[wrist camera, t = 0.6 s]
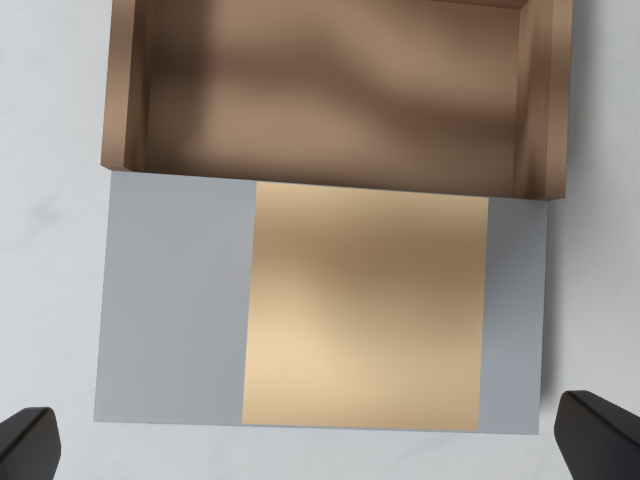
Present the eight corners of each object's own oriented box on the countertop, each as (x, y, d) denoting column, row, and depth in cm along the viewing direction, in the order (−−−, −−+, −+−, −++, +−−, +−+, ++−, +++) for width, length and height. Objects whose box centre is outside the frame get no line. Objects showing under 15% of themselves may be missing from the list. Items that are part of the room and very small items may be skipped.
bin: (524, 205, 28) (564, 197, 24) (127, 178, 26) (100, 165, 22) (533, -2, 29) (574, -43, 25) (143, -42, 27) (119, -94, 23)
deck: (515, 418, 28) (538, 434, 25) (111, 405, 26) (93, 421, 23) (524, 205, 28) (548, 200, 26) (127, 178, 26) (111, 170, 24)
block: (397, 359, 25) (477, 431, 15) (257, 354, 24) (241, 424, 14) (405, 220, 25) (488, 197, 15) (265, 211, 24) (257, 181, 14)
